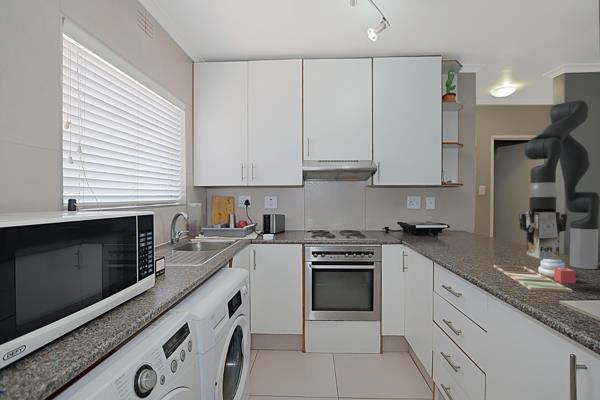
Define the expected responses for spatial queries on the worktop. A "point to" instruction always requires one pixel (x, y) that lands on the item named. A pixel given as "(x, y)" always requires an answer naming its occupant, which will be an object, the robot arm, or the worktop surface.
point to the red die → (564, 275)
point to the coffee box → (545, 235)
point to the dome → (552, 264)
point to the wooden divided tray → (533, 280)
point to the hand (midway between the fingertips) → (542, 242)
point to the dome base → (546, 271)
